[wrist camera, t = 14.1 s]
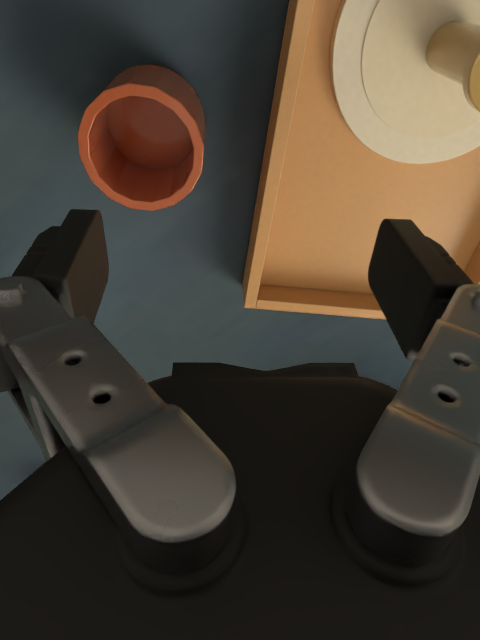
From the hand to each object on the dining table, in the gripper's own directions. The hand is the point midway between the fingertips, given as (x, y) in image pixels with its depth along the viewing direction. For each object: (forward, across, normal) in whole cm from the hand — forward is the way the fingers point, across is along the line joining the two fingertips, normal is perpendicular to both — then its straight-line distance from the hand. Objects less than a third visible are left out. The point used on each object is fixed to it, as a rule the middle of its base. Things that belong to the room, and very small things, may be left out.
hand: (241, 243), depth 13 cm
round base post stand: (+15, -11, -4) cm, 19 cm away
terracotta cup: (+16, +4, +1) cm, 17 cm away
